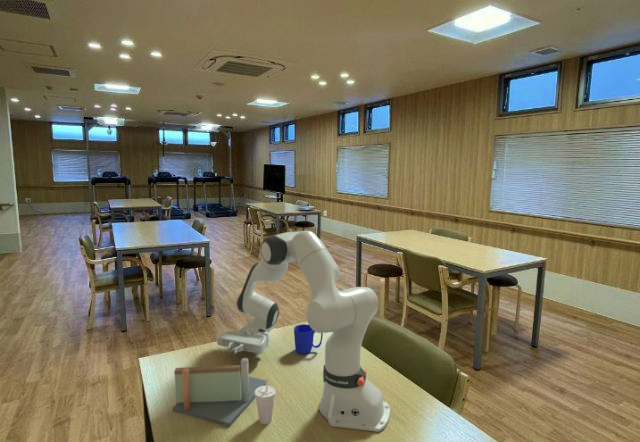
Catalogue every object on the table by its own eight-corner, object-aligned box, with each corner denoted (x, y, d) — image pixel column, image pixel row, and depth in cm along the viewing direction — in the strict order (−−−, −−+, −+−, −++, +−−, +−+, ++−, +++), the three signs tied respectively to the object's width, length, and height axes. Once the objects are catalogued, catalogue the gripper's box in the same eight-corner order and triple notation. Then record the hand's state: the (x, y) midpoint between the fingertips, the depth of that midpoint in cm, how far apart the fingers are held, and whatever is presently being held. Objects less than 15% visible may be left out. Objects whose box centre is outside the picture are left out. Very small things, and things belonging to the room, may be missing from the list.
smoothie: (272, 428, 113) (271, 385, 111) (251, 425, 114) (250, 382, 112) (278, 415, 119) (278, 373, 117) (259, 412, 121) (258, 370, 118)
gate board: (267, 383, 136) (267, 343, 134) (229, 426, 114) (228, 379, 111) (217, 372, 143) (216, 333, 141) (172, 410, 121) (170, 365, 119)
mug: (322, 356, 156) (322, 333, 154) (293, 355, 156) (293, 332, 154) (322, 346, 164) (323, 324, 162) (294, 346, 164) (294, 323, 163)
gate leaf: (240, 396, 125) (239, 365, 124) (240, 399, 124) (239, 368, 122) (177, 399, 123) (175, 367, 121) (176, 403, 121) (174, 370, 120)
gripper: (227, 324, 161) (207, 338, 148) (271, 332, 154) (254, 347, 141) (228, 338, 162) (208, 353, 149) (271, 347, 155) (254, 363, 142)
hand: (231, 350), depth 145 cm, fingers closed
